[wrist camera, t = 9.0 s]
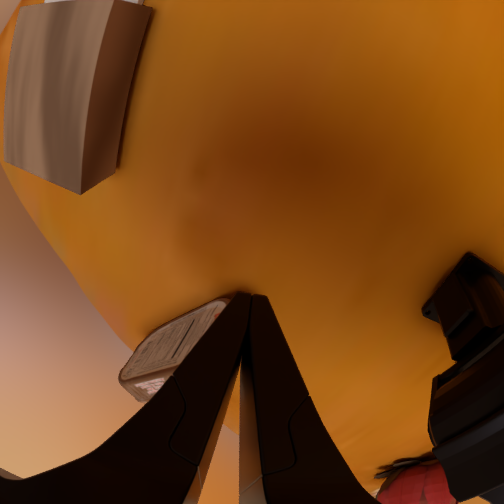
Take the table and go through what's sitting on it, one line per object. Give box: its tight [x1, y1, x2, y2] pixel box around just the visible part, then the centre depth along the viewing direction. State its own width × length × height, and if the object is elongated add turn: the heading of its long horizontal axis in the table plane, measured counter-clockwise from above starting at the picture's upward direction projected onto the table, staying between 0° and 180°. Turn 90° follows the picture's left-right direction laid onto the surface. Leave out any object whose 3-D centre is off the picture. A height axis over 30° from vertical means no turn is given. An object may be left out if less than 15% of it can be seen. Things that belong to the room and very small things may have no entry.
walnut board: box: [4, 0, 152, 195], centre depth 14 cm, size 4×12×9 cm
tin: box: [118, 298, 230, 402], centre depth 24 cm, size 15×3×8 cm, turn 129°
